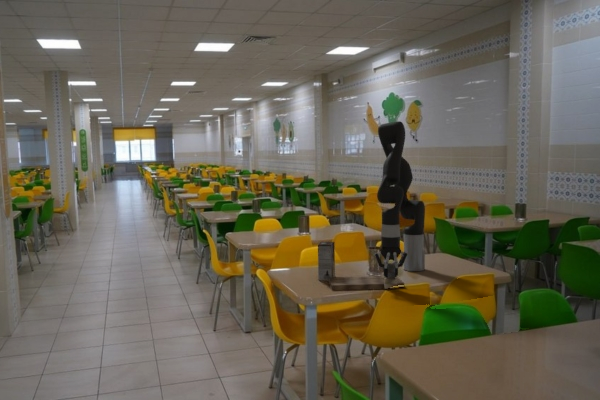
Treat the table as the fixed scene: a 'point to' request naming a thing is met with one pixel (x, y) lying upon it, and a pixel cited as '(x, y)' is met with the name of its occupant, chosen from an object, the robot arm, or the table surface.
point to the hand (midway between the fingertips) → (390, 276)
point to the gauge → (390, 276)
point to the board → (358, 282)
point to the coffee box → (326, 260)
